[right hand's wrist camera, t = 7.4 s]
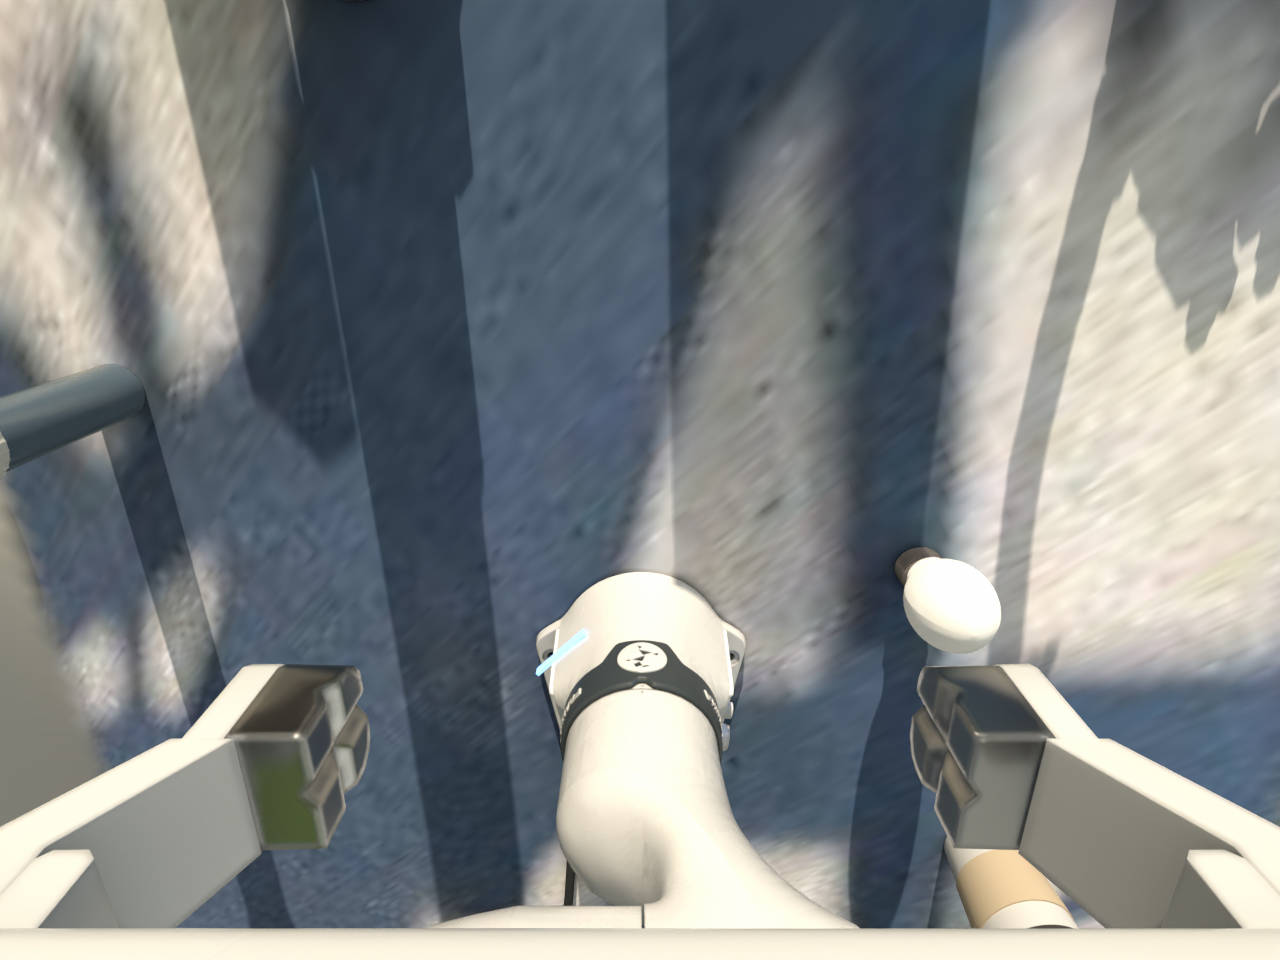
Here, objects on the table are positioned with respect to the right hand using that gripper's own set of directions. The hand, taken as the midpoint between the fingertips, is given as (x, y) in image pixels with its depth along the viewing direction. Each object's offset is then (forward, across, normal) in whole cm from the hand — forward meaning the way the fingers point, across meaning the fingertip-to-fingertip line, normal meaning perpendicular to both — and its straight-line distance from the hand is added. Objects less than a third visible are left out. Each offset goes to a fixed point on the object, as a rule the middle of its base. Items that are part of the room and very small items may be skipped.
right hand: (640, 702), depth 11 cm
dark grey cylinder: (+48, -41, -7) cm, 64 cm away
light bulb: (+48, +24, -23) cm, 58 cm away
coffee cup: (+48, +35, -55) cm, 81 cm away
